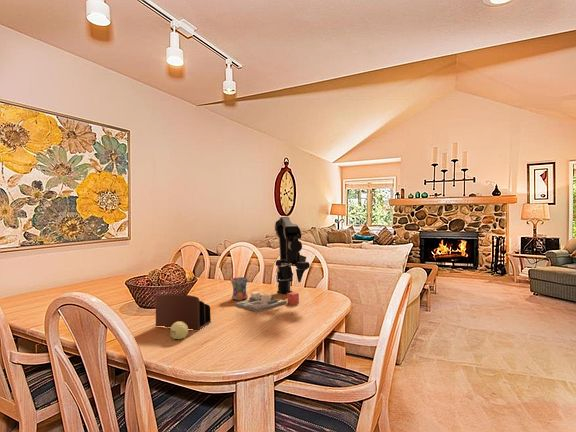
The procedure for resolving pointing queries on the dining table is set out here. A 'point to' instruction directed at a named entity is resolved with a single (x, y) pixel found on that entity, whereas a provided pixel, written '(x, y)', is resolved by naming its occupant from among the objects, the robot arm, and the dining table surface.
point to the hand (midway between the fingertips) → (292, 281)
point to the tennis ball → (179, 330)
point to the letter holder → (182, 311)
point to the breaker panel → (260, 304)
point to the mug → (239, 288)
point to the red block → (293, 298)
